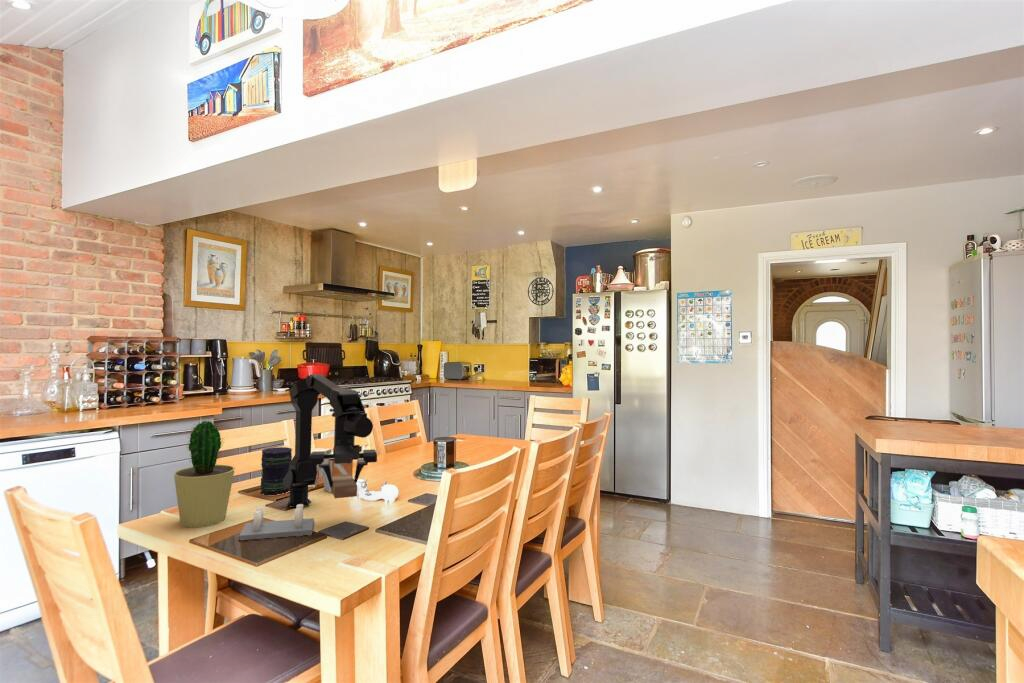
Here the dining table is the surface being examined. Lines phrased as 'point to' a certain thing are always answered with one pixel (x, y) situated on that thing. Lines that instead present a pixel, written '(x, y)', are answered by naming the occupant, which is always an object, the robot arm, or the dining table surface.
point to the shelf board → (343, 486)
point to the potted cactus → (203, 480)
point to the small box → (337, 472)
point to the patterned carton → (319, 469)
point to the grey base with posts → (277, 526)
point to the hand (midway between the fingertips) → (343, 486)
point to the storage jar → (275, 470)
